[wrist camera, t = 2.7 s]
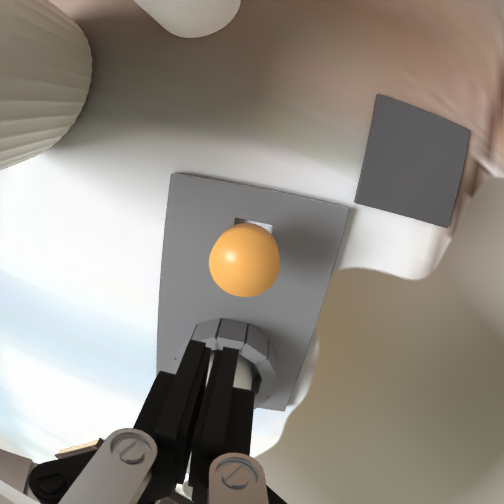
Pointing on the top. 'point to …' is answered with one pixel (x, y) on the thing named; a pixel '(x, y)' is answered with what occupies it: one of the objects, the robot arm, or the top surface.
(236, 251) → the plunger
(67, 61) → the canister
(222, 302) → the plate
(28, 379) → the top surface
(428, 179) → the mat
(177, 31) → the cylindrical container
